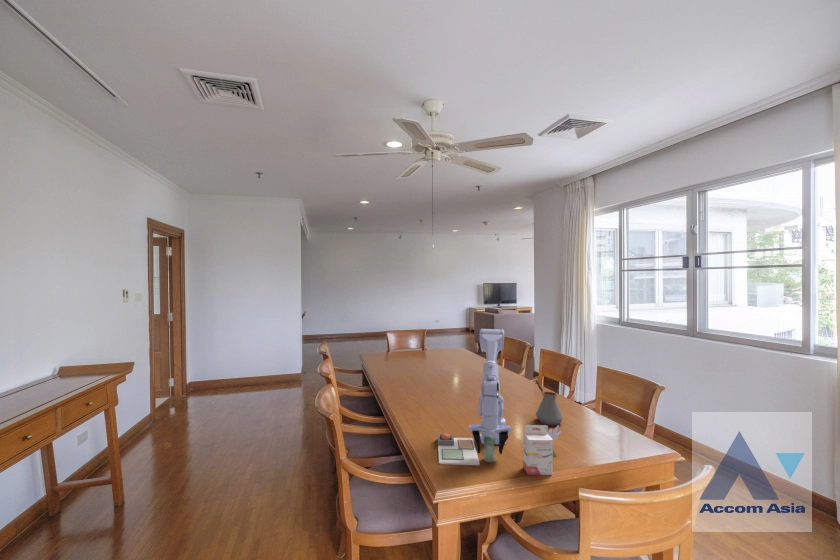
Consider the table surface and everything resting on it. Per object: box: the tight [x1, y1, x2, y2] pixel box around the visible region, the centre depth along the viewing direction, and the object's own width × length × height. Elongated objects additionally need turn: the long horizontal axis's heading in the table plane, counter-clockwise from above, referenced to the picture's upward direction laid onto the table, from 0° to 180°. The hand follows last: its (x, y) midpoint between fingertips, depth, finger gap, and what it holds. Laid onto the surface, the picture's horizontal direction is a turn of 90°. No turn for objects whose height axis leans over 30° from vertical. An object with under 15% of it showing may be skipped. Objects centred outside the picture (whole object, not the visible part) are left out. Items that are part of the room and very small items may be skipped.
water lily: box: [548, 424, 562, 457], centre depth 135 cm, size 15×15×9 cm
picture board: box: [437, 433, 481, 466], centre depth 136 cm, size 14×20×2 cm
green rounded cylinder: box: [483, 435, 496, 463], centre depth 130 cm, size 4×4×8 cm
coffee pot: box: [534, 379, 564, 426], centre depth 170 cm, size 21×12×15 cm, turn 5°
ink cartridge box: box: [522, 424, 554, 476], centre depth 122 cm, size 9×5×15 cm, turn 92°
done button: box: [440, 432, 450, 440], centre depth 142 cm, size 4×4×2 cm
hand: (489, 452), depth 130 cm, fingers open, 7 cm apart
